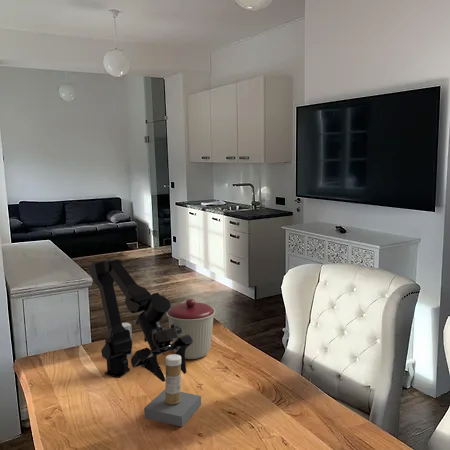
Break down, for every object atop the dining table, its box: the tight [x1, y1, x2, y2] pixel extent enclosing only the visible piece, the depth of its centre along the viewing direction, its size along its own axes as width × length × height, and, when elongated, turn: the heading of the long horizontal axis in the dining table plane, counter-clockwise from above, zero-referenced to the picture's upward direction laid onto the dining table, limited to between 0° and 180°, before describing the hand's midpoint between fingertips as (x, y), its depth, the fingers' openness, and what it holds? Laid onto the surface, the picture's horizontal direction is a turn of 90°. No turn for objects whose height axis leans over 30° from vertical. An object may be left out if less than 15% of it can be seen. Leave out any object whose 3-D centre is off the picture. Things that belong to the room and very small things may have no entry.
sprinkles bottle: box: [164, 353, 182, 405], centre depth 134 cm, size 5×5×14 cm
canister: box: [165, 298, 216, 360], centre depth 174 cm, size 18×18×21 cm
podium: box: [143, 388, 202, 428], centre depth 135 cm, size 12×12×3 cm
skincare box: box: [122, 321, 133, 358], centre depth 173 cm, size 6×4×12 cm
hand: (175, 377), depth 133 cm, fingers open, 7 cm apart
